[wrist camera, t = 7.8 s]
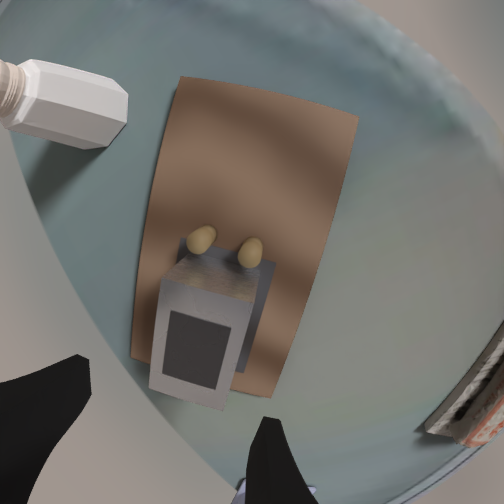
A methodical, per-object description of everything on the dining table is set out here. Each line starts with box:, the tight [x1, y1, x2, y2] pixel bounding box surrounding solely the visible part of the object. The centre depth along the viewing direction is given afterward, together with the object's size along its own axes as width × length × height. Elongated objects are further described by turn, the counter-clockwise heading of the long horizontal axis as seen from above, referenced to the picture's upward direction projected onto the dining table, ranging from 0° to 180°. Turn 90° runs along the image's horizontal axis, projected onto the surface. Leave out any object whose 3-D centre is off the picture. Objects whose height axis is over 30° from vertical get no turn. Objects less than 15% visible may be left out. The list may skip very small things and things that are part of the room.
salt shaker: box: [0, 59, 128, 150], centre depth 12 cm, size 5×5×11 cm
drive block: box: [149, 252, 260, 411], centre depth 17 cm, size 7×4×5 cm, turn 166°
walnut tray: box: [131, 76, 359, 398], centre depth 18 cm, size 20×11×4 cm, turn 166°
